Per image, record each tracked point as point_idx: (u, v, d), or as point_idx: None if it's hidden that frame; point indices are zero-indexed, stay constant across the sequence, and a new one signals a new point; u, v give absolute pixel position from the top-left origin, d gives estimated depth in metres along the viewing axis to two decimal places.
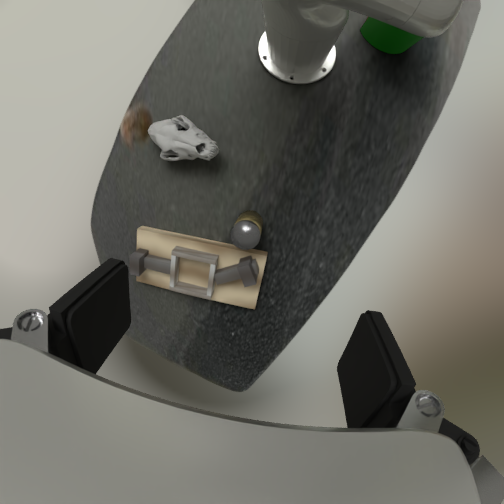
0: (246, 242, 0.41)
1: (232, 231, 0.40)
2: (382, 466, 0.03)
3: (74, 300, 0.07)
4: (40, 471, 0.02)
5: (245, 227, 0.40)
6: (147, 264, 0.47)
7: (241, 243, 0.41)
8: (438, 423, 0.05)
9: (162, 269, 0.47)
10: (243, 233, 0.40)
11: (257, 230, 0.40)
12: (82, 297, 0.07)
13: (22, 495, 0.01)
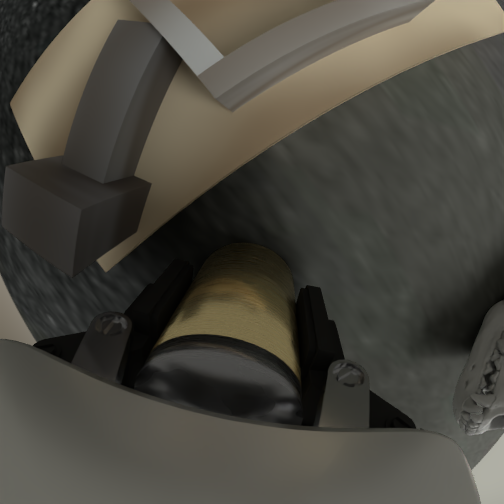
0: (178, 398, 0.06)
1: (286, 401, 0.05)
2: (382, 466, 0.03)
3: (158, 301, 0.08)
4: (40, 471, 0.02)
5: None
6: None
7: (189, 384, 0.06)
8: (366, 390, 0.06)
9: None
10: None
11: None
12: (163, 297, 0.08)
13: (22, 495, 0.01)
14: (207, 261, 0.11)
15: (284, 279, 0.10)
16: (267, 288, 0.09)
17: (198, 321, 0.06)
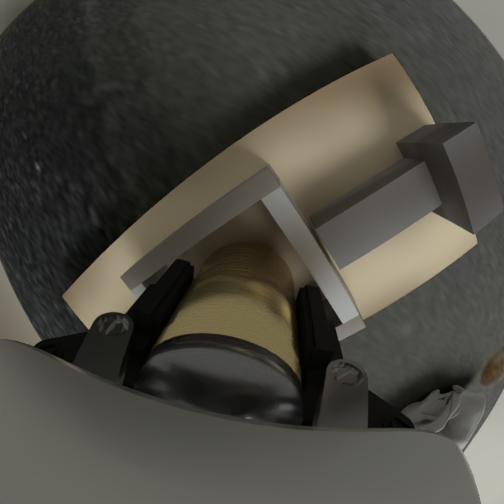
0: (178, 398, 0.06)
1: (287, 401, 0.05)
2: (382, 466, 0.03)
3: (159, 301, 0.08)
4: (40, 471, 0.02)
5: None
6: (420, 189, 0.09)
7: (189, 384, 0.06)
8: (365, 389, 0.06)
9: (357, 222, 0.10)
10: None
11: None
12: (164, 298, 0.08)
13: (22, 495, 0.01)
14: (207, 260, 0.11)
15: (284, 278, 0.10)
16: (267, 287, 0.08)
17: (198, 320, 0.06)
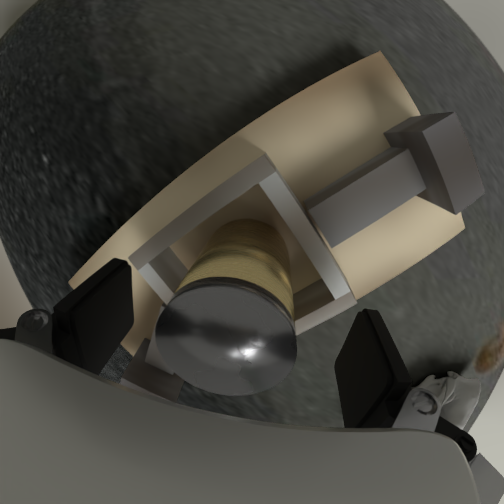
0: (192, 335, 0.08)
1: (282, 331, 0.07)
2: (382, 466, 0.03)
3: (79, 300, 0.07)
4: (40, 471, 0.02)
5: (252, 374, 0.08)
6: (405, 174, 0.10)
7: (202, 319, 0.07)
8: (435, 421, 0.05)
9: (346, 204, 0.11)
10: (236, 353, 0.08)
11: (210, 388, 0.09)
12: (86, 296, 0.07)
13: (22, 495, 0.01)
14: (213, 234, 0.13)
15: (279, 246, 0.12)
16: (264, 249, 0.10)
17: (209, 269, 0.08)
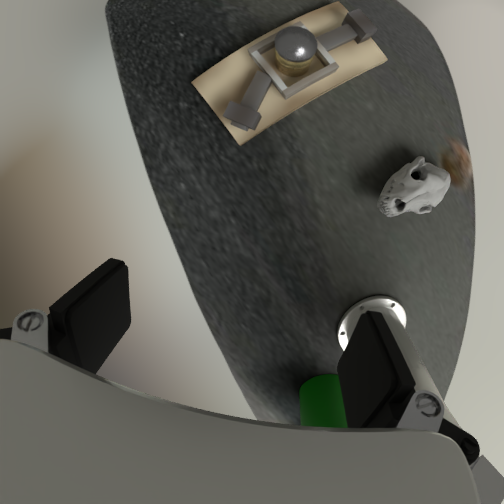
0: (287, 37, 0.21)
1: (312, 36, 0.21)
2: (382, 466, 0.03)
3: (75, 300, 0.07)
4: (40, 471, 0.02)
5: (305, 50, 0.21)
6: (348, 30, 0.23)
7: (290, 33, 0.21)
8: (438, 423, 0.05)
9: (328, 36, 0.24)
10: (300, 43, 0.21)
11: (290, 57, 0.22)
12: (82, 297, 0.07)
13: (22, 495, 0.01)
14: None
15: None
16: None
17: None
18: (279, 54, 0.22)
